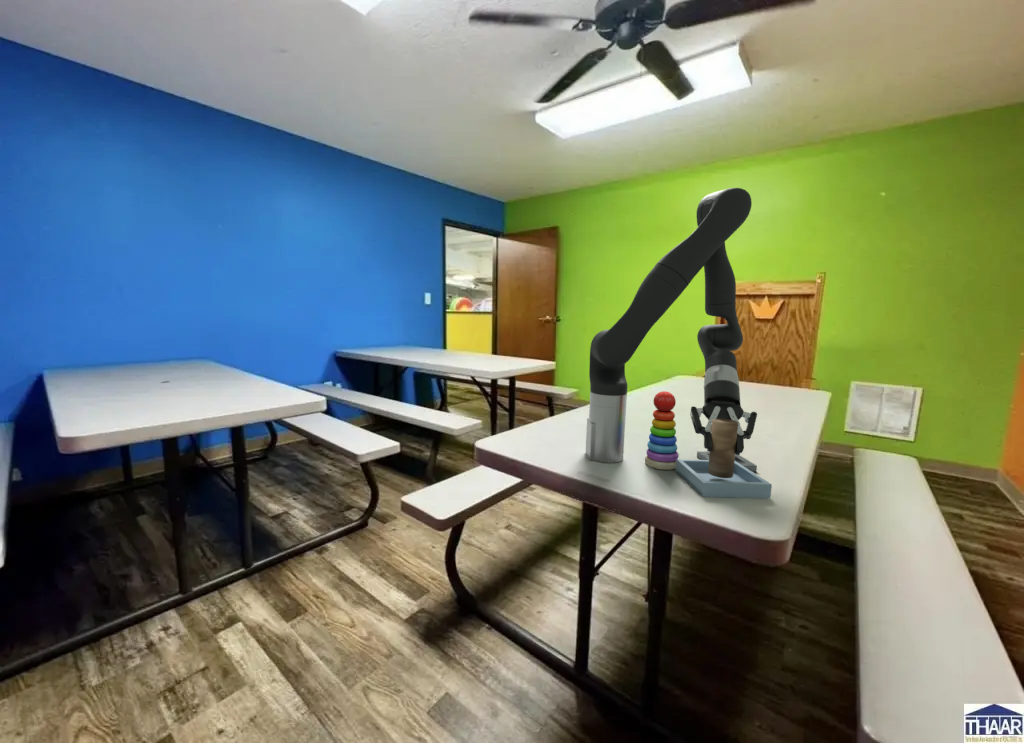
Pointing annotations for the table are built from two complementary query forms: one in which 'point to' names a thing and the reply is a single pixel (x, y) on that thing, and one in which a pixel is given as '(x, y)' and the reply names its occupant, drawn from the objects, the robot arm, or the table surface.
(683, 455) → the table surface
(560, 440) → the table surface
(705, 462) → the tray
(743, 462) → the socket plate
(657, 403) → the stacking toy
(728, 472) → the walnut peg
